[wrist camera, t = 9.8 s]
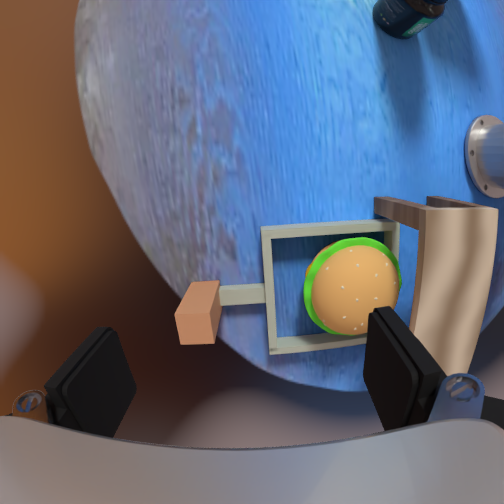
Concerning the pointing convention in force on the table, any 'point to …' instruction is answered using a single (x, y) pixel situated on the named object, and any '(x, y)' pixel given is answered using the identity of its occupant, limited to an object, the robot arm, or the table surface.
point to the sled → (271, 291)
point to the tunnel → (448, 273)
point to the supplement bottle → (406, 15)
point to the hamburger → (350, 284)
